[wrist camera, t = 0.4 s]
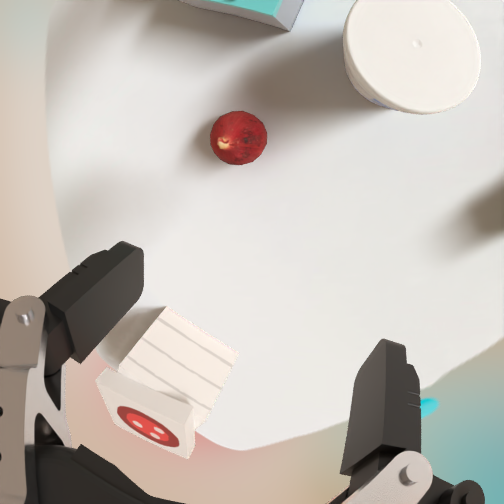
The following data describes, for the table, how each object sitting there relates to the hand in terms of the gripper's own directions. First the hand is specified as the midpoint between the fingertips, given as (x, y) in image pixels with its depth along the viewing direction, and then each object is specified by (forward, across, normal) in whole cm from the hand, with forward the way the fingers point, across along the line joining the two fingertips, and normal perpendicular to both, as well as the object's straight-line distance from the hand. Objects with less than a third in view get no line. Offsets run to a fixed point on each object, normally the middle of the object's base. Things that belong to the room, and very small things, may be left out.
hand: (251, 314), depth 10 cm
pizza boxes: (+28, +14, +47) cm, 56 cm away
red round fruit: (+28, +9, +1) cm, 30 cm away
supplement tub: (+28, -4, -11) cm, 31 cm away
